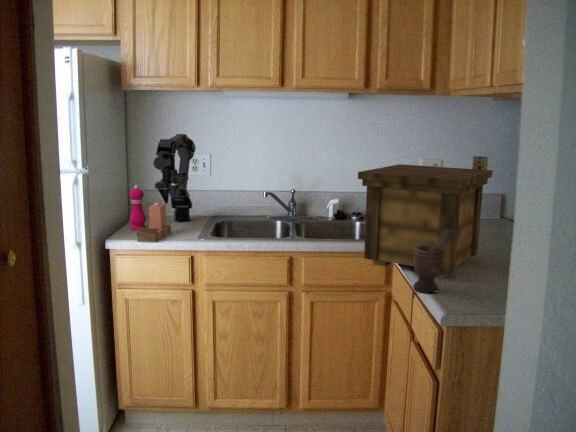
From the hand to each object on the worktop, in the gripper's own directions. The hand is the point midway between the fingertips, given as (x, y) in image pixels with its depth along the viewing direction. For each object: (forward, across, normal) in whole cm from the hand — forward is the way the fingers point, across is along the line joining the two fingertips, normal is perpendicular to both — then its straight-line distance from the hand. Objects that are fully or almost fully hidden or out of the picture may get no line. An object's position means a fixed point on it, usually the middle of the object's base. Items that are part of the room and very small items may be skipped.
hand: (169, 201), depth 237 cm
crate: (+12, -39, -108) cm, 116 cm away
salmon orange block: (+9, -15, 0) cm, 17 cm away
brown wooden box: (+12, -19, 0) cm, 22 cm away
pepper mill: (+12, -6, +13) cm, 19 cm away
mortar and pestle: (+12, -70, -108) cm, 129 cm away
